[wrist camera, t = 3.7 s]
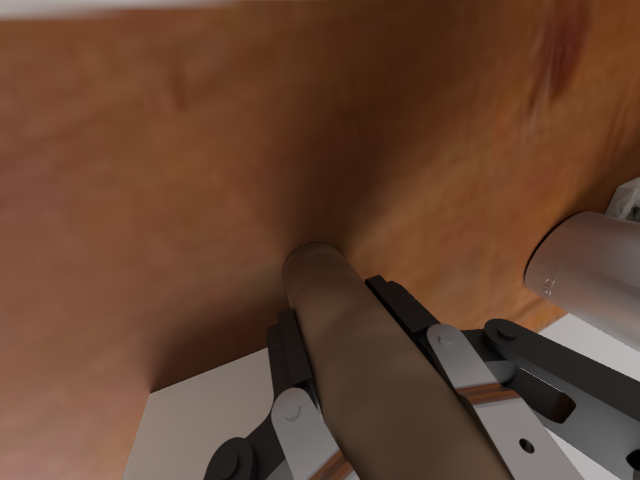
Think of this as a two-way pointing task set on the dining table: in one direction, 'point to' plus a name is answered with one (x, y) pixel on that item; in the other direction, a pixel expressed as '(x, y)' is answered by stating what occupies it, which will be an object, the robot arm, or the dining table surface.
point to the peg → (378, 380)
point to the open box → (200, 419)
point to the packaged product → (626, 201)
